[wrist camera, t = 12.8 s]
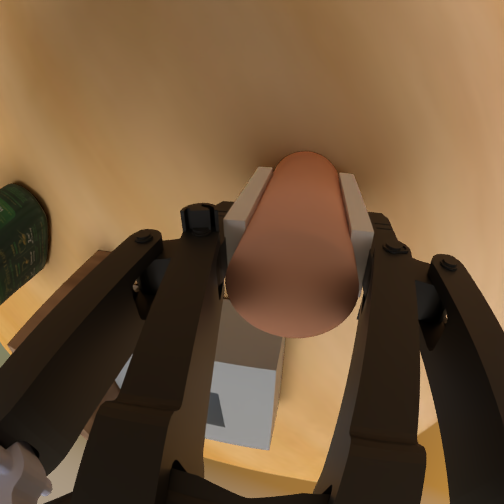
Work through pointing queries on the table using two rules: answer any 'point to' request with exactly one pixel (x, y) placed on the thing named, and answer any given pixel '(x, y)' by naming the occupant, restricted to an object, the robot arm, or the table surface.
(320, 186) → the dowel
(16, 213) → the coffee jar
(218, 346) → the socket block
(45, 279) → the table surface
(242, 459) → the table surface
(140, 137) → the table surface
